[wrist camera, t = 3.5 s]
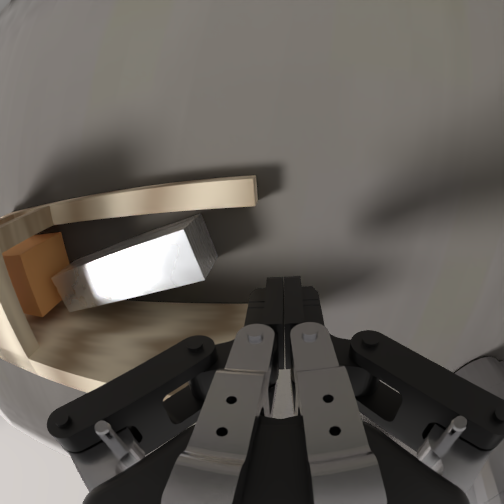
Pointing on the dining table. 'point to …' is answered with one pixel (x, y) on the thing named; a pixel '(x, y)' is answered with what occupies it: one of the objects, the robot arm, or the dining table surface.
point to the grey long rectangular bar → (139, 265)
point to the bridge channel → (116, 313)
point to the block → (36, 271)
